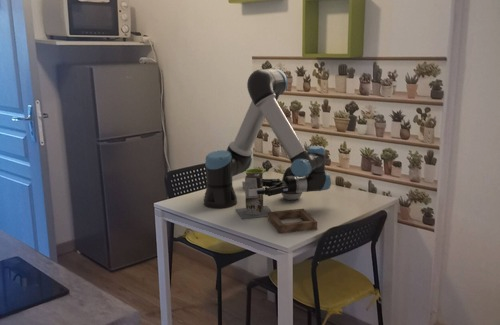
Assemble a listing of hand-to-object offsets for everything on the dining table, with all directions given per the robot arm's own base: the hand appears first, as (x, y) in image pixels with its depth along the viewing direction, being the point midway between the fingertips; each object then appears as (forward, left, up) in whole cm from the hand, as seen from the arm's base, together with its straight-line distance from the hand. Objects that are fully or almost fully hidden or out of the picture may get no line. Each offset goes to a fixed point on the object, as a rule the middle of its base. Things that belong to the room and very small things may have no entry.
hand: (245, 188), depth 208 cm
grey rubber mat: (+4, 0, -11) cm, 12 cm away
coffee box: (+4, 0, -11) cm, 11 cm away
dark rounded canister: (+25, +15, -11) cm, 31 cm away
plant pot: (+13, +39, -11) cm, 43 cm away
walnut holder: (+15, -18, -11) cm, 26 cm away
